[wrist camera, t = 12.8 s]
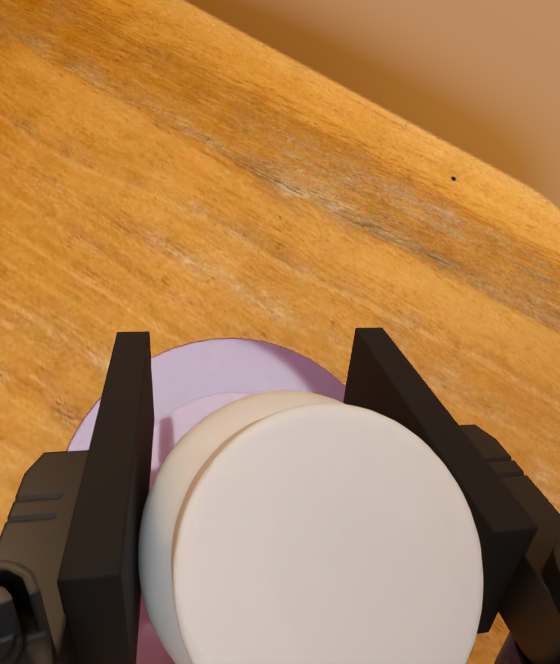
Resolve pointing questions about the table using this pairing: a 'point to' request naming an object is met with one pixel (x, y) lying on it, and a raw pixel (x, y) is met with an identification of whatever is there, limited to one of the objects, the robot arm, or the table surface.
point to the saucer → (209, 408)
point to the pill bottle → (308, 540)
